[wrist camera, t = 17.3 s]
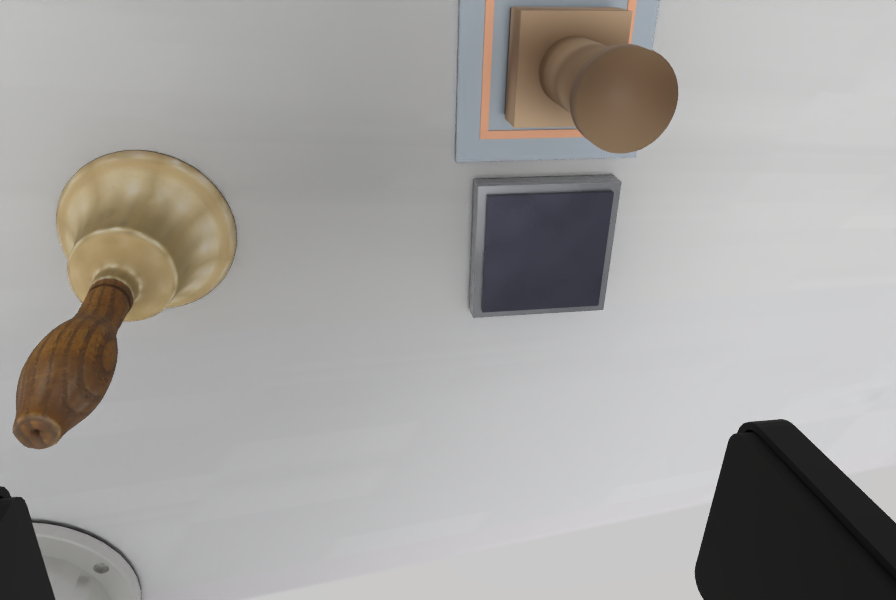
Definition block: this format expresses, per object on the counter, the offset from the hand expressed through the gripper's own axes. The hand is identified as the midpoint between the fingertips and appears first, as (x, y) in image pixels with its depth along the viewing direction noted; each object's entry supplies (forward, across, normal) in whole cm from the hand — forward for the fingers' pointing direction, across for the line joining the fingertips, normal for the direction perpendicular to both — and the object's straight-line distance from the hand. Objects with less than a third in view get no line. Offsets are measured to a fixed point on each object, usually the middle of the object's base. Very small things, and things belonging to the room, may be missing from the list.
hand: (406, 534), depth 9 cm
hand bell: (+27, +9, +5) cm, 29 cm away
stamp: (+26, -10, -3) cm, 28 cm away
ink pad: (+27, -11, +7) cm, 29 cm away
